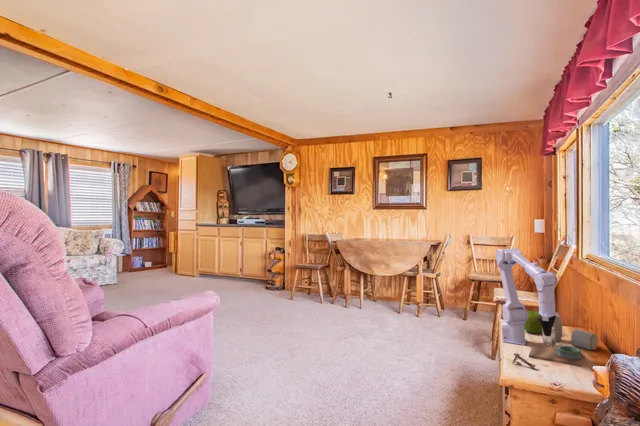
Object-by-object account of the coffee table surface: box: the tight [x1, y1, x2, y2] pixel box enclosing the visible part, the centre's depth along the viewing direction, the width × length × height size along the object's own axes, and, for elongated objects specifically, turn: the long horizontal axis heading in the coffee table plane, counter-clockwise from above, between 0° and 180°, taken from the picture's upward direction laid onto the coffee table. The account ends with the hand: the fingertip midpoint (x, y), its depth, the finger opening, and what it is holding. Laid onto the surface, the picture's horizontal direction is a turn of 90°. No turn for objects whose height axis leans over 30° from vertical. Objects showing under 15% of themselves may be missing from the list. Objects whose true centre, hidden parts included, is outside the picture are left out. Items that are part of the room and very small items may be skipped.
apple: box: [524, 310, 543, 335], centre depth 182 cm, size 11×11×11 cm
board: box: [528, 345, 584, 367], centre depth 150 cm, size 18×14×4 cm
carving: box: [553, 314, 563, 343], centre depth 170 cm, size 6×8×12 cm
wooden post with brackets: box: [511, 353, 536, 370], centre depth 142 cm, size 2×8×4 cm, turn 41°
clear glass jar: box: [541, 326, 557, 346], centre depth 149 cm, size 4×4×7 cm
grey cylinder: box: [570, 328, 599, 351], centre depth 159 cm, size 11×8×8 cm
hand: (548, 334), depth 149 cm, fingers closed on clear glass jar, 4 cm apart
